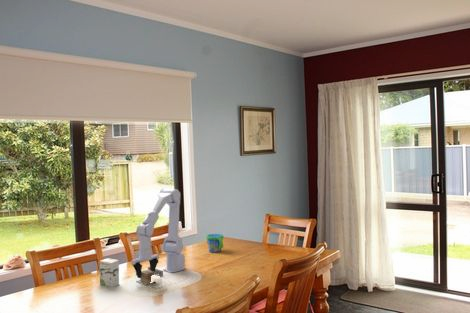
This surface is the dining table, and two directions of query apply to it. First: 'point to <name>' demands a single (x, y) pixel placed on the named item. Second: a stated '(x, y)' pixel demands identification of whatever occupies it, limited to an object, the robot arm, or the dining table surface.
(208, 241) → the snack cup
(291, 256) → the dining table surface
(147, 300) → the dining table surface
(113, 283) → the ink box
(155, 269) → the channel
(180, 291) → the dining table surface
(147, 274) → the walnut block
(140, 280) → the pad
